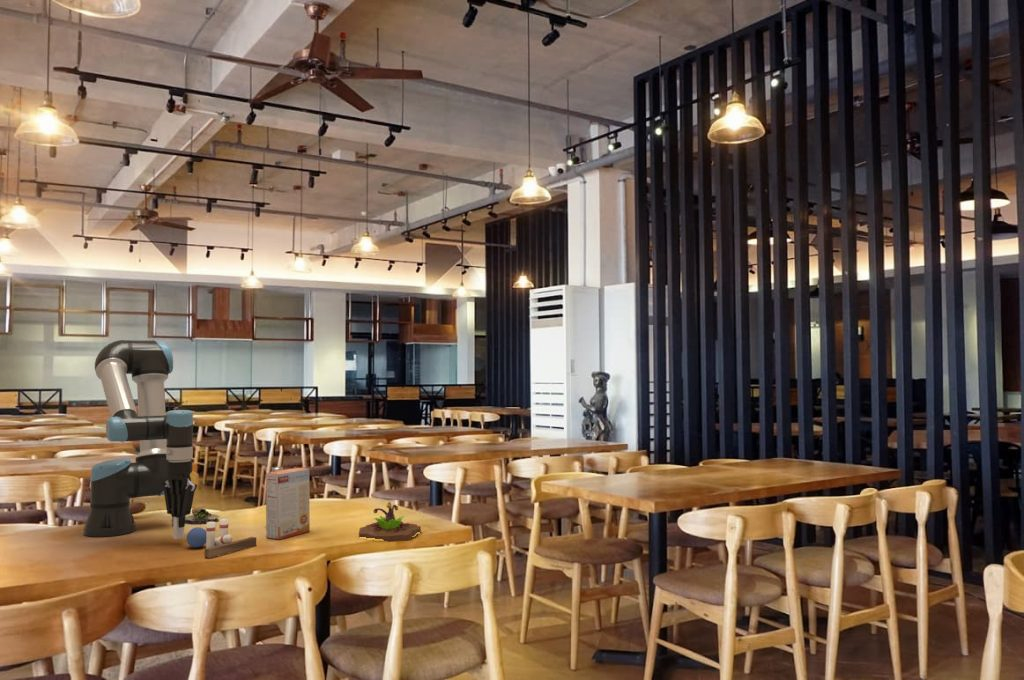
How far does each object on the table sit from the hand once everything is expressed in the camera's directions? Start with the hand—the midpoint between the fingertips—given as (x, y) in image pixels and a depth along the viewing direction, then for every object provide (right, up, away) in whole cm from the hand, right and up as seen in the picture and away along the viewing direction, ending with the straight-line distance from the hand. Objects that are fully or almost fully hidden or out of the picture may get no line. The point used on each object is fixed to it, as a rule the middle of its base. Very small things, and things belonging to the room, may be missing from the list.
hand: (178, 537), depth 246 cm
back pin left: (+16, -2, -5) cm, 17 cm away
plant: (+63, -3, +13) cm, 64 cm away
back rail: (+20, -2, -10) cm, 22 cm away
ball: (+8, +1, -5) cm, 9 cm away
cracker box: (+30, -3, +13) cm, 33 cm away
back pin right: (+14, -2, -10) cm, 17 cm away
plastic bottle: (+22, -3, +27) cm, 35 cm away
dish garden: (-7, -4, +36) cm, 36 cm away
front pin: (+12, -1, -6) cm, 13 cm away
